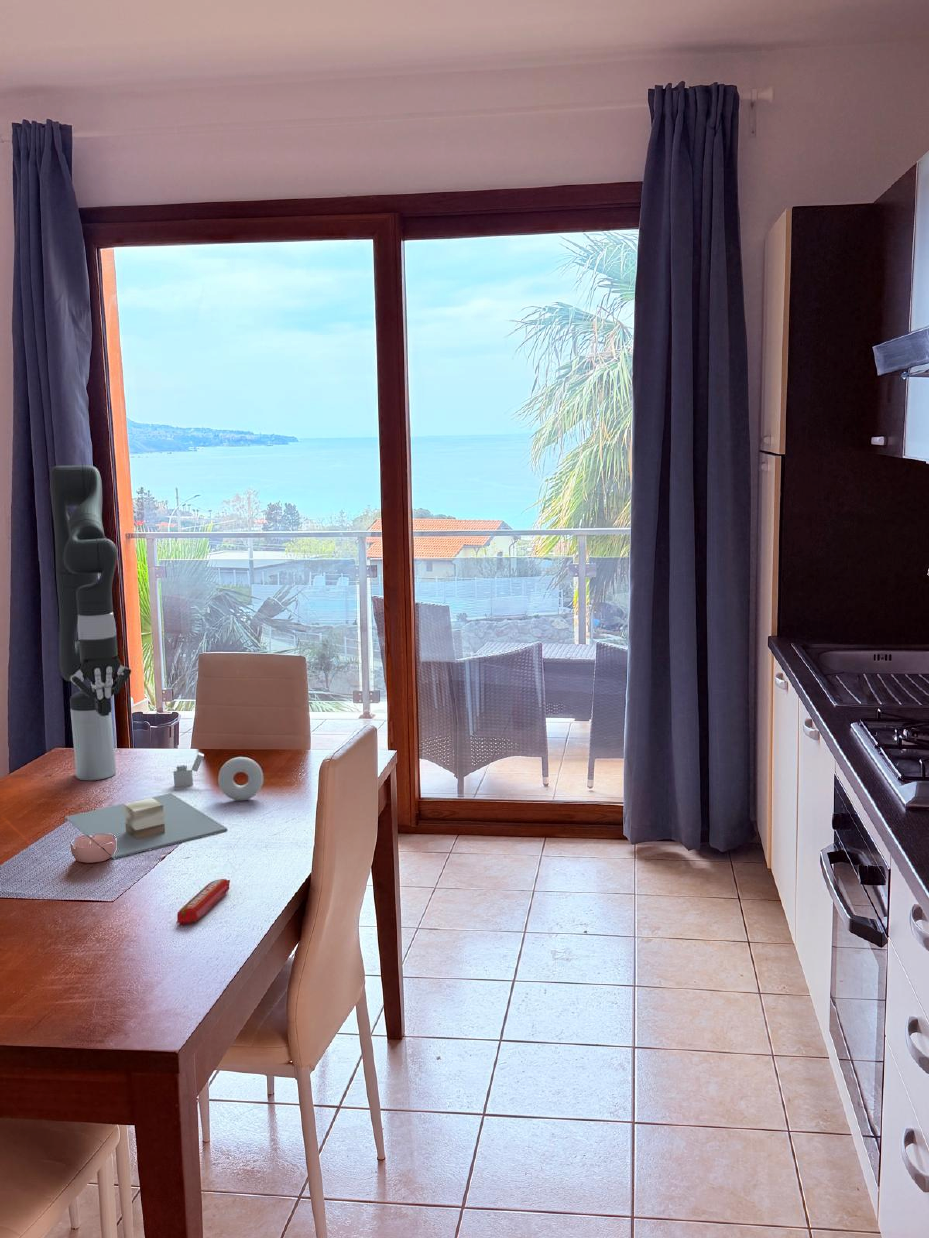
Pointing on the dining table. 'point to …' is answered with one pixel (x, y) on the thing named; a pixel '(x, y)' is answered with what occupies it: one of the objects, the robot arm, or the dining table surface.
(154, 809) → the block
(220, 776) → the donut
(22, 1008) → the dining table surface
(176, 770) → the lighter
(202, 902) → the packaged sausage
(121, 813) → the mat
